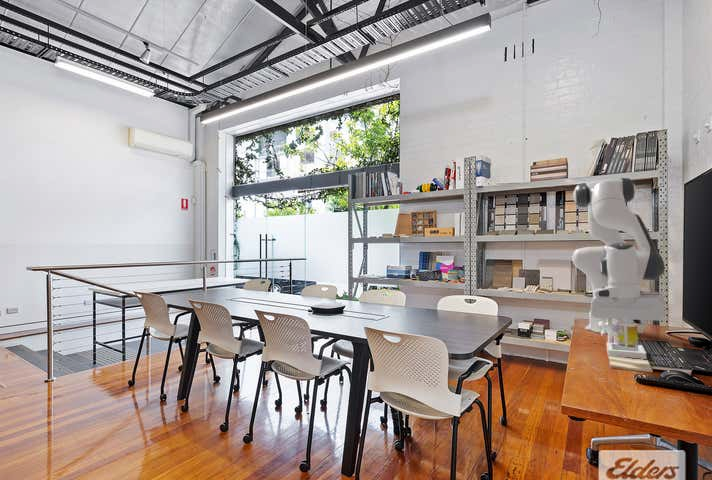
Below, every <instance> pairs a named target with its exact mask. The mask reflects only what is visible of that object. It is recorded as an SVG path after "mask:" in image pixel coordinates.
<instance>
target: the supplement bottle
mask: <svg viewBox="0 0 712 480" xmlns="http://www.w3.org/2000/svg"><path fill="white" fill-rule="evenodd" d="M637 327H638V325H637V323H636V322H634V319H630V318H623V319H619V322H617V337H618V345H619V346H620V347H622V348H627V349H636V348H638V345H639V337H638V333H637Z"/></svg>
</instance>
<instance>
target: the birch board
mask: <svg viewBox="0 0 712 480" xmlns="http://www.w3.org/2000/svg"><path fill="white" fill-rule="evenodd" d="M608 361H609V366H610V369H616V370H625V371H637V372H644V373H645V372H647V373H653V368H652V366H651V363H650V362H649V360H648V359H647V360H643V359H632V358H621V357H608Z"/></svg>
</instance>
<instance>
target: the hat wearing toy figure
mask: <svg viewBox="0 0 712 480" xmlns="http://www.w3.org/2000/svg"><path fill="white" fill-rule="evenodd" d="M612 320H613V321H612V324H613V325H614V326H617V322H618V321H617V320H616V319H612ZM599 325H600V326H601V327H602V326H604V327H602V328H603V329H602V332H601V333H600V336H602V337H603V336H604V335H606V333H605V330H606V331H607V332H608V334H607V343H618V337H617V332H612V327H611V325H610V324H609V323H608V321H607V323H606V324H605V322H604V321H600V323H599ZM600 326H599V327H600Z"/></svg>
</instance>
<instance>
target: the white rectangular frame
mask: <svg viewBox="0 0 712 480" xmlns="http://www.w3.org/2000/svg"><path fill="white" fill-rule="evenodd" d="M606 353H607V357H608V358H609V357H621V358H625V357H632V358H641V359H647V360H648V358H647V352H646V350H645V348H644V346H643V344H638V348H636V349H627V348H622V347H620V346H619V345H618V343H614V342H612V343H608V342H606Z"/></svg>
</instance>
